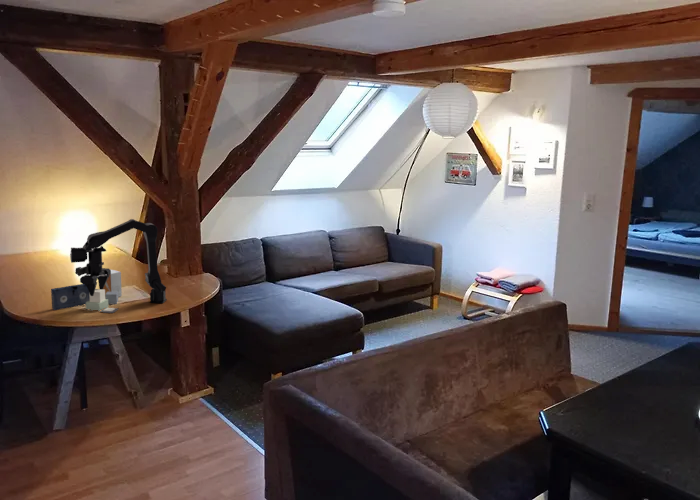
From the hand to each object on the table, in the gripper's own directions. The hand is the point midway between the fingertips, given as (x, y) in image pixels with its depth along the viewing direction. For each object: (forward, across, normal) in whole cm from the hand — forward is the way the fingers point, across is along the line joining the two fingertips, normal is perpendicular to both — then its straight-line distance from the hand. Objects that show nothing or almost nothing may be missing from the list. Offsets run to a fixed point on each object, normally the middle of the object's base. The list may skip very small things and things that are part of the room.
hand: (96, 293), depth 259 cm
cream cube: (+4, 0, 0) cm, 4 cm away
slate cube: (+8, -10, +3) cm, 13 cm away
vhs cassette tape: (+8, -2, -12) cm, 15 cm away
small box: (+8, -21, -2) cm, 22 cm away
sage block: (+8, 0, 0) cm, 8 cm away
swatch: (+7, +3, +7) cm, 11 cm away
